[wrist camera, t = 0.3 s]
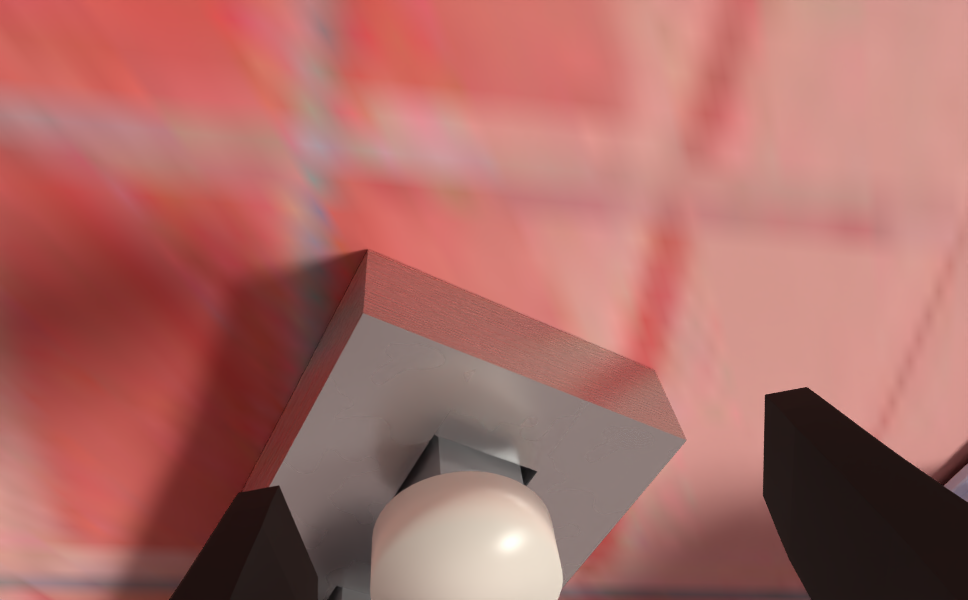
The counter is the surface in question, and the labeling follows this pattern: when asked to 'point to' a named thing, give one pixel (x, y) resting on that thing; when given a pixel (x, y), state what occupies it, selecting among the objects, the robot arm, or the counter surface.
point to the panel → (457, 417)
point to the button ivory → (464, 532)
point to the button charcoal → (347, 594)
